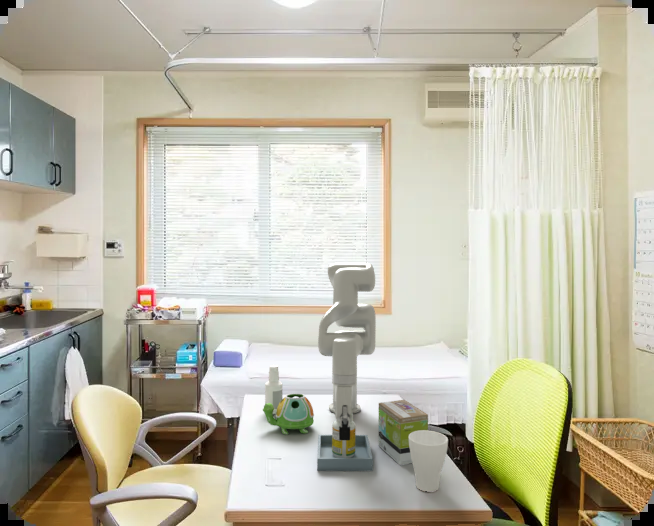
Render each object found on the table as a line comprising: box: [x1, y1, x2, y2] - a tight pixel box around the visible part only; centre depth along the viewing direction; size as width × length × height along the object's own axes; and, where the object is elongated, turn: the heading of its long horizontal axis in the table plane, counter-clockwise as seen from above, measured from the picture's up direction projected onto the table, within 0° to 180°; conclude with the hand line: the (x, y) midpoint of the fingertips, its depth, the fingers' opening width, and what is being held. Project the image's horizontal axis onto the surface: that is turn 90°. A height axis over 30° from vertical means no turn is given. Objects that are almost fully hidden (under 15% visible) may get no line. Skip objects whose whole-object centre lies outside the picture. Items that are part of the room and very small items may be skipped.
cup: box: [408, 429, 449, 493], centre depth 131 cm, size 10×10×14 cm
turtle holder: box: [262, 393, 315, 435], centre depth 172 cm, size 12×18×12 cm
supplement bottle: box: [331, 413, 357, 458], centre depth 149 cm, size 7×7×13 cm
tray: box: [316, 434, 374, 472], centre depth 149 cm, size 18×16×4 cm
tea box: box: [378, 399, 429, 466], centre depth 152 cm, size 15×10×15 cm
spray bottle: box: [264, 364, 283, 415], centre depth 190 cm, size 7×7×18 cm
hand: (343, 433), depth 149 cm, fingers open, 9 cm apart
